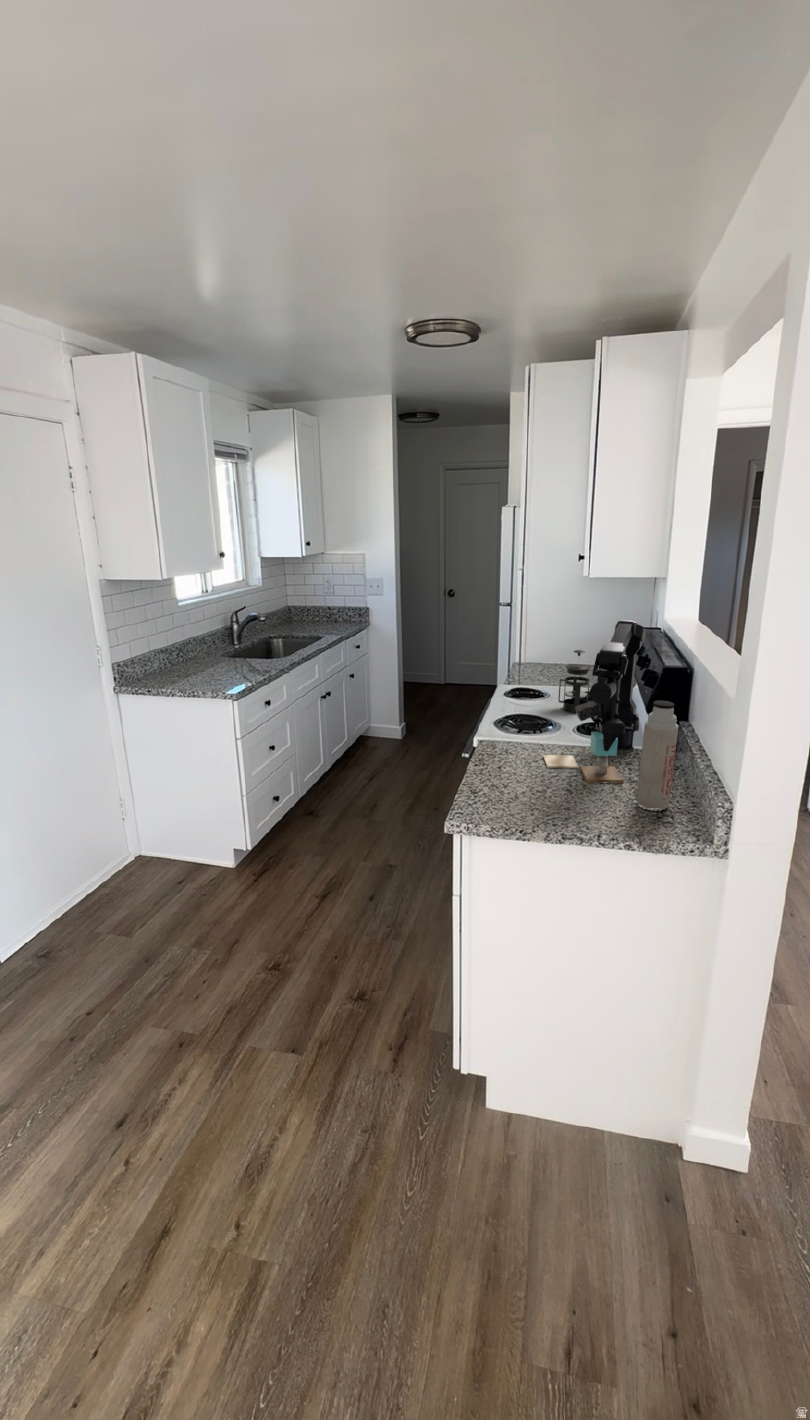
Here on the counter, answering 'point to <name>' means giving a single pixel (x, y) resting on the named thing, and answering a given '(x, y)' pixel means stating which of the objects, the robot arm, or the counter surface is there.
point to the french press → (575, 686)
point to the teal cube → (601, 745)
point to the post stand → (601, 772)
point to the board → (560, 761)
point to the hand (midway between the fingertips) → (603, 746)
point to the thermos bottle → (658, 756)
